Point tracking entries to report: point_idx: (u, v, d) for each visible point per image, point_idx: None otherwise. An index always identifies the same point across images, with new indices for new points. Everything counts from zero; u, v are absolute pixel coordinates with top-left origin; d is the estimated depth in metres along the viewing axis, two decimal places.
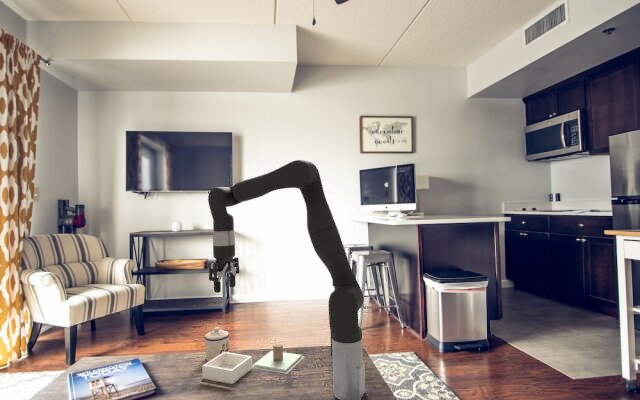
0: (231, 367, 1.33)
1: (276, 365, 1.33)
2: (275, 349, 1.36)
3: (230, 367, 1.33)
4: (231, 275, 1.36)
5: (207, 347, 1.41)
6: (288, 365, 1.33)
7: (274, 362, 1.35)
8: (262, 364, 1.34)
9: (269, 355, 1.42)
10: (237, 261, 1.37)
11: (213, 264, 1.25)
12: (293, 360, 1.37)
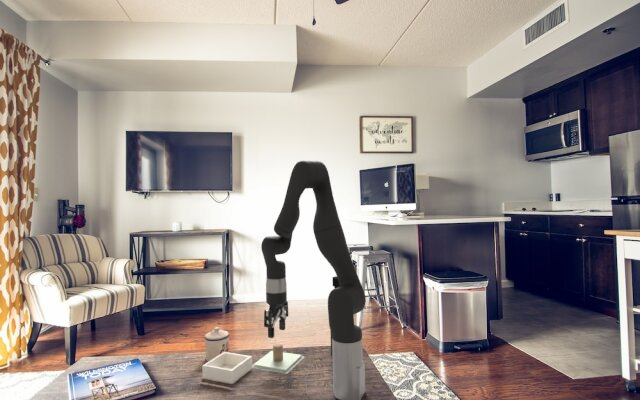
0: (231, 367, 1.33)
1: (276, 365, 1.33)
2: (275, 349, 1.36)
3: (230, 367, 1.33)
4: (281, 318, 1.42)
5: (207, 347, 1.41)
6: (288, 365, 1.33)
7: (274, 362, 1.35)
8: (262, 364, 1.34)
9: (269, 355, 1.42)
10: (287, 305, 1.43)
11: (268, 312, 1.31)
12: (293, 360, 1.37)
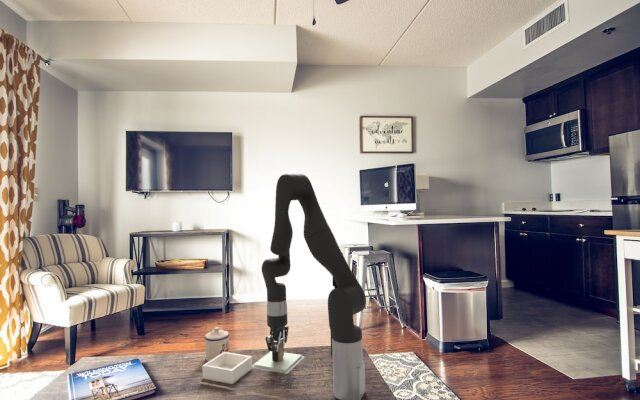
0: (231, 367, 1.33)
1: (276, 365, 1.33)
2: None
3: (230, 367, 1.33)
4: None
5: (207, 347, 1.41)
6: (288, 365, 1.33)
7: (273, 362, 1.35)
8: (262, 364, 1.34)
9: (269, 355, 1.42)
10: (287, 330, 1.42)
11: (269, 339, 1.31)
12: (293, 360, 1.37)
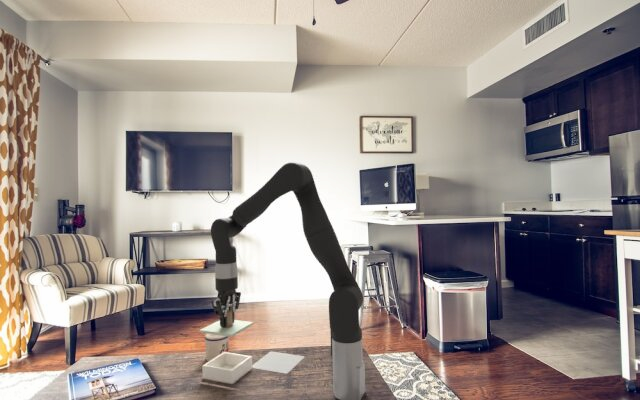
0: (231, 367, 1.33)
1: (223, 330, 1.25)
2: None
3: (230, 367, 1.33)
4: None
5: (207, 347, 1.41)
6: (236, 331, 1.24)
7: (221, 328, 1.27)
8: (208, 329, 1.26)
9: (219, 322, 1.33)
10: (239, 296, 1.34)
11: (216, 302, 1.23)
12: (243, 326, 1.28)
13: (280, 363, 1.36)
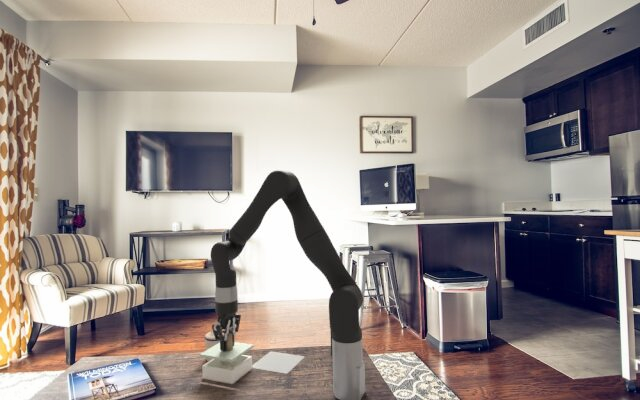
0: (231, 367, 1.33)
1: (223, 355, 1.24)
2: None
3: (230, 367, 1.33)
4: None
5: (207, 347, 1.41)
6: (236, 355, 1.24)
7: (221, 352, 1.27)
8: (208, 353, 1.26)
9: (219, 345, 1.33)
10: (239, 318, 1.34)
11: (216, 327, 1.23)
12: (243, 350, 1.28)
13: (280, 363, 1.36)
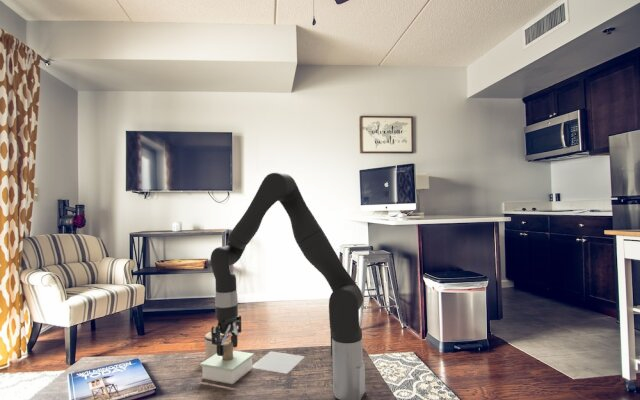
0: None
1: (224, 364, 1.24)
2: (224, 347, 1.28)
3: None
4: (233, 335, 1.33)
5: (207, 347, 1.41)
6: (236, 364, 1.24)
7: (222, 361, 1.27)
8: (209, 363, 1.26)
9: None
10: (240, 320, 1.34)
11: (215, 328, 1.23)
12: (243, 359, 1.28)
13: (280, 363, 1.36)
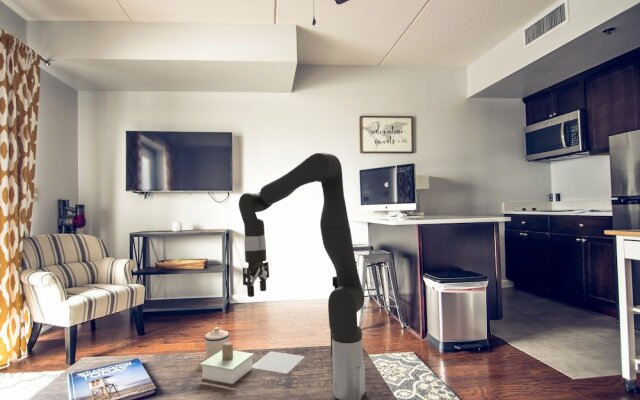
0: None
1: (224, 364, 1.24)
2: (224, 347, 1.28)
3: None
4: (262, 279, 1.37)
5: (207, 347, 1.41)
6: (236, 364, 1.24)
7: (222, 361, 1.27)
8: (209, 363, 1.26)
9: (220, 354, 1.33)
10: (267, 265, 1.39)
11: (247, 269, 1.27)
12: (243, 359, 1.28)
13: (280, 363, 1.36)
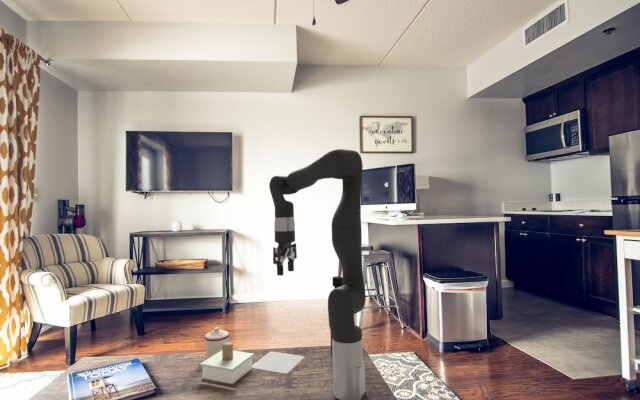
0: None
1: (224, 364, 1.24)
2: (224, 347, 1.28)
3: None
4: (290, 260, 1.42)
5: (207, 347, 1.41)
6: (236, 364, 1.24)
7: (222, 361, 1.27)
8: (209, 363, 1.26)
9: (220, 354, 1.33)
10: (295, 246, 1.44)
11: (277, 248, 1.32)
12: (243, 359, 1.28)
13: (280, 363, 1.36)
